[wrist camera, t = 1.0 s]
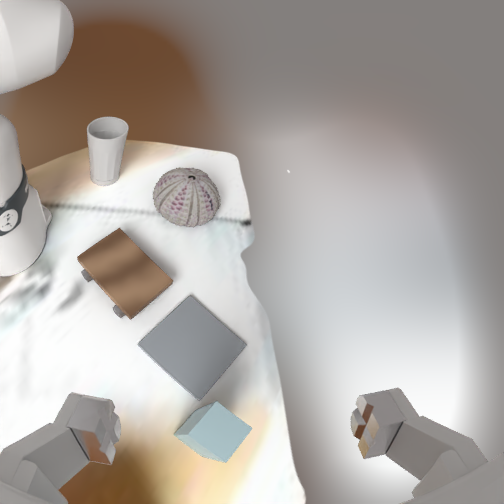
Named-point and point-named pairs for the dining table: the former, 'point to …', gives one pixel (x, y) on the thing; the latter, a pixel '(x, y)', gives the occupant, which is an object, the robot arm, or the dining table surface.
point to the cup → (106, 149)
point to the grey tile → (192, 347)
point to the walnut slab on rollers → (124, 273)
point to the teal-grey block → (213, 432)
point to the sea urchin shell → (186, 197)
